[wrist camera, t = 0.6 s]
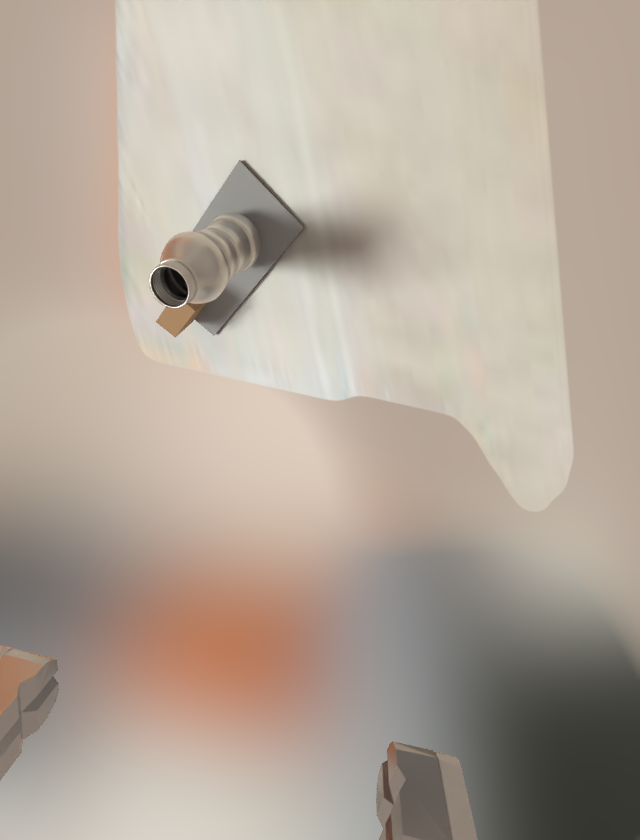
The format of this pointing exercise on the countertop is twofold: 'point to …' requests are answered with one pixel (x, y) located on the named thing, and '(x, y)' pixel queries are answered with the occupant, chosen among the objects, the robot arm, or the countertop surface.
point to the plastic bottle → (204, 261)
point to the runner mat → (275, 237)
